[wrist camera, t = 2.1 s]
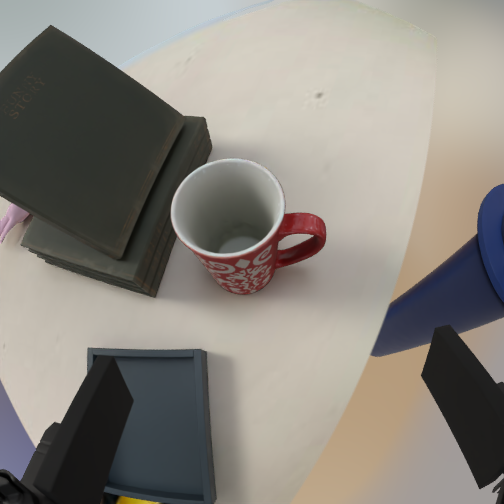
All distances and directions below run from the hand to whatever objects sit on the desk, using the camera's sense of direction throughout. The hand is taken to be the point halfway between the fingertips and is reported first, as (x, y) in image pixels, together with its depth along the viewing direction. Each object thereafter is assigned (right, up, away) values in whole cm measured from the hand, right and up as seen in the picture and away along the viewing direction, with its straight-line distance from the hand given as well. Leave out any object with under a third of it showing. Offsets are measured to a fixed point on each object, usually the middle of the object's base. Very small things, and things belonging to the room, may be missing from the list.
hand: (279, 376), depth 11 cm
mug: (0, +3, +25) cm, 25 cm away
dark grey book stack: (-19, +12, +29) cm, 37 cm away
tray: (-12, -15, +18) cm, 26 cm away
